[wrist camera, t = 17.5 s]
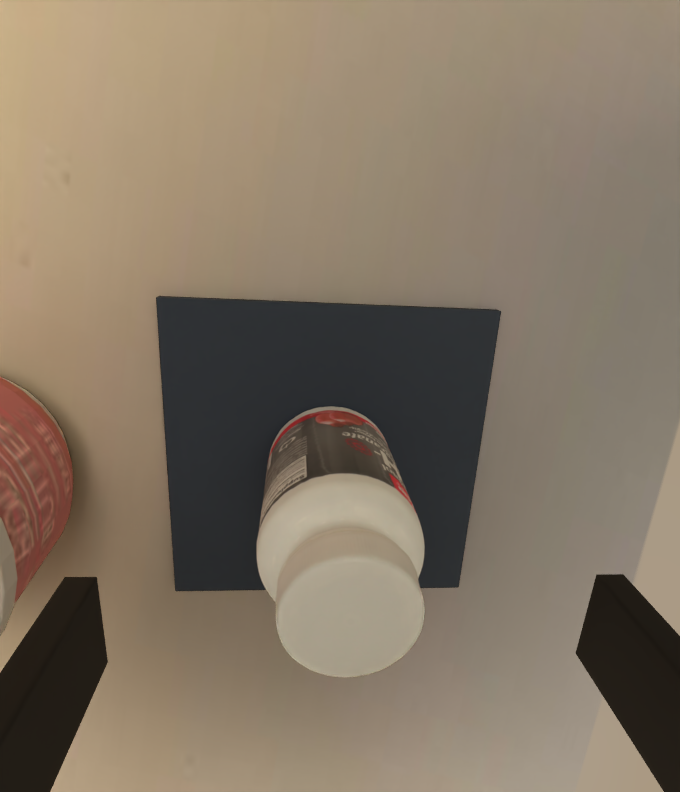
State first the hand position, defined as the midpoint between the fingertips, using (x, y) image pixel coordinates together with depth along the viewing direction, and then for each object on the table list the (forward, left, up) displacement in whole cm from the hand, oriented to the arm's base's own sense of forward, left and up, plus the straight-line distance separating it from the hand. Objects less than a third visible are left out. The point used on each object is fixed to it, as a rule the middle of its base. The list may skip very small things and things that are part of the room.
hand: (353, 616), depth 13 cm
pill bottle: (0, 0, -10) cm, 10 cm away
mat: (0, 0, -10) cm, 10 cm away
